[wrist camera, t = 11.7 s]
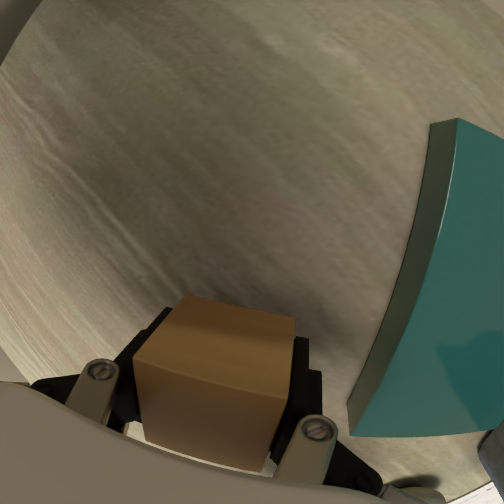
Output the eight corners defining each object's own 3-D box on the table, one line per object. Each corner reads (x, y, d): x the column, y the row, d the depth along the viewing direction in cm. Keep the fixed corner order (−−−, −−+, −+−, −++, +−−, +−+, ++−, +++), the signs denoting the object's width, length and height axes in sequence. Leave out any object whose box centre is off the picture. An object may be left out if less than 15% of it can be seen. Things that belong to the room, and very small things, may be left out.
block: (185, 293, 12) (131, 356, 8) (296, 316, 11) (288, 398, 7) (183, 373, 13) (144, 440, 9) (274, 395, 13) (260, 473, 8)
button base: (430, 123, 10) (482, 111, 6) (572, 197, 9) (617, 212, 5) (346, 403, 16) (350, 461, 11) (488, 404, 14) (508, 444, 10)
